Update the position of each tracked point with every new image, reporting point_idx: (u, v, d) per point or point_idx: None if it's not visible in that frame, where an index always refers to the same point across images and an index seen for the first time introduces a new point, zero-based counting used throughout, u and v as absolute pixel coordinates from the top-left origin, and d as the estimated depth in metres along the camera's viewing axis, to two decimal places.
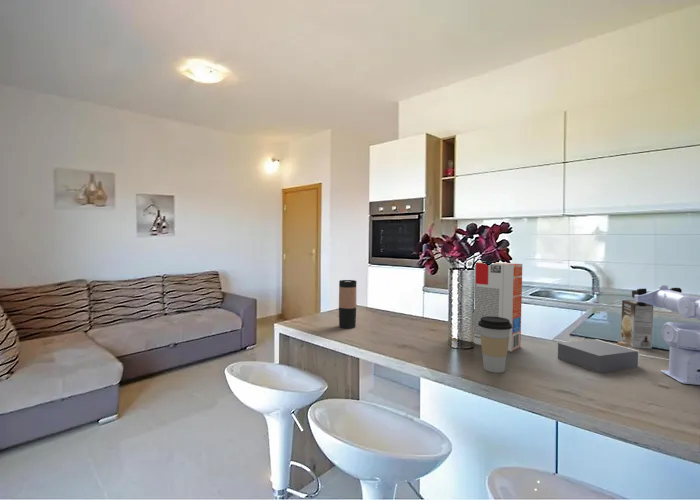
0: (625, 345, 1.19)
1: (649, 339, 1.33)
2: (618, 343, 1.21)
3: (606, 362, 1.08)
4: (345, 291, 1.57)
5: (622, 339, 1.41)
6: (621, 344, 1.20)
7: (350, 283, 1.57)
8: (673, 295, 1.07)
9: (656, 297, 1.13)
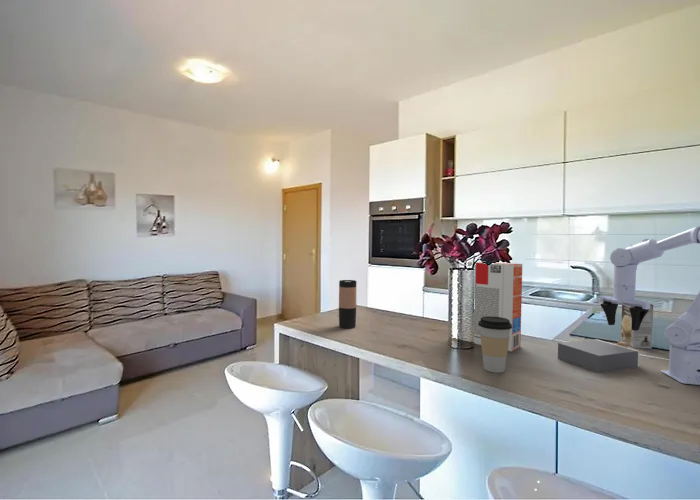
0: (625, 345, 1.19)
1: (649, 339, 1.33)
2: (618, 343, 1.21)
3: (606, 362, 1.08)
4: (345, 291, 1.57)
5: (622, 339, 1.41)
6: (621, 344, 1.20)
7: (350, 283, 1.57)
8: (614, 276, 1.21)
9: (631, 297, 1.17)
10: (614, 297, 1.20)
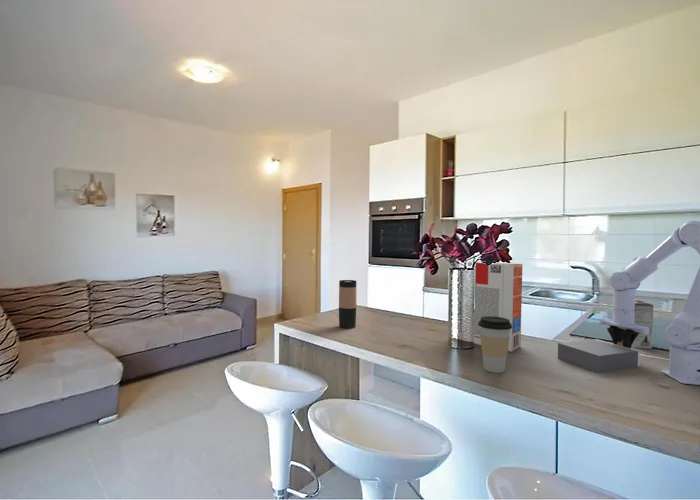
0: None
1: (649, 339, 1.33)
2: (618, 343, 1.21)
3: (606, 362, 1.08)
4: (345, 291, 1.57)
5: None
6: (621, 344, 1.20)
7: (350, 283, 1.57)
8: (613, 300, 1.21)
9: (630, 321, 1.17)
10: (613, 321, 1.21)
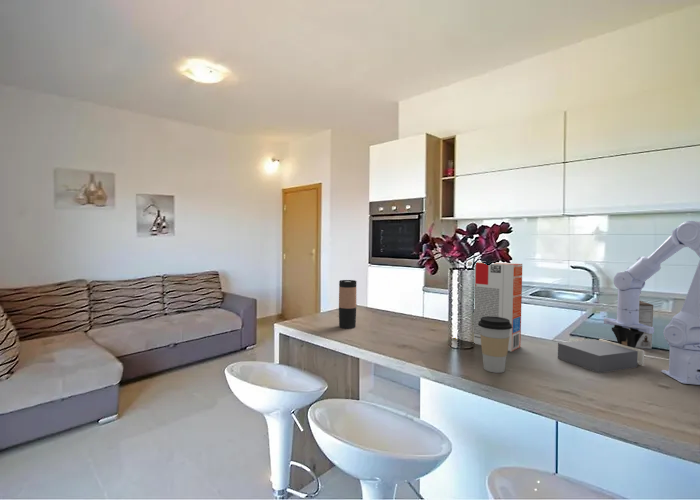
0: None
1: (649, 339, 1.33)
2: (622, 343, 1.21)
3: (606, 362, 1.08)
4: (345, 291, 1.57)
5: None
6: (625, 344, 1.20)
7: (350, 283, 1.57)
8: None
9: (635, 320, 1.18)
10: (618, 320, 1.21)
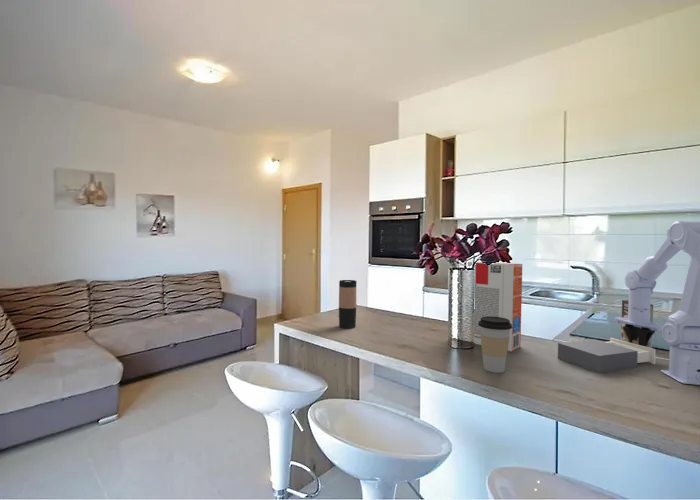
0: None
1: (649, 339, 1.33)
2: (633, 341, 1.23)
3: (606, 362, 1.08)
4: (345, 291, 1.57)
5: (622, 339, 1.41)
6: (636, 342, 1.22)
7: (350, 283, 1.57)
8: None
9: (646, 319, 1.20)
10: (629, 319, 1.23)
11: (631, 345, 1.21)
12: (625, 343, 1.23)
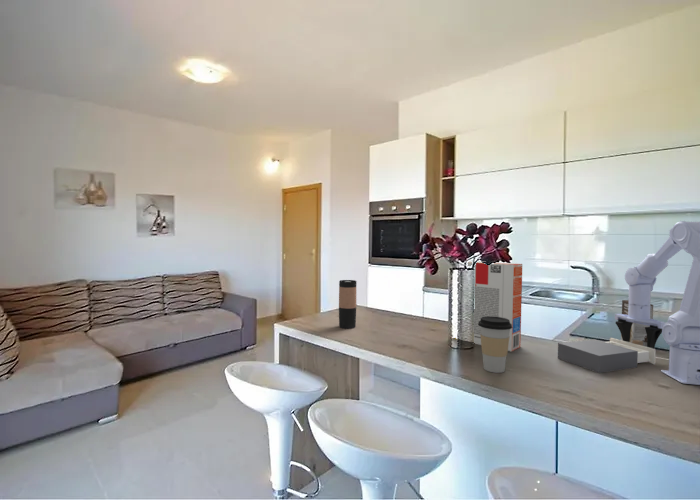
0: (640, 343, 1.22)
1: None
2: (633, 341, 1.23)
3: (606, 362, 1.08)
4: (345, 291, 1.57)
5: (622, 339, 1.41)
6: (636, 342, 1.22)
7: (350, 283, 1.57)
8: None
9: (646, 316, 1.20)
10: (629, 316, 1.23)
11: (631, 345, 1.21)
12: (625, 343, 1.23)
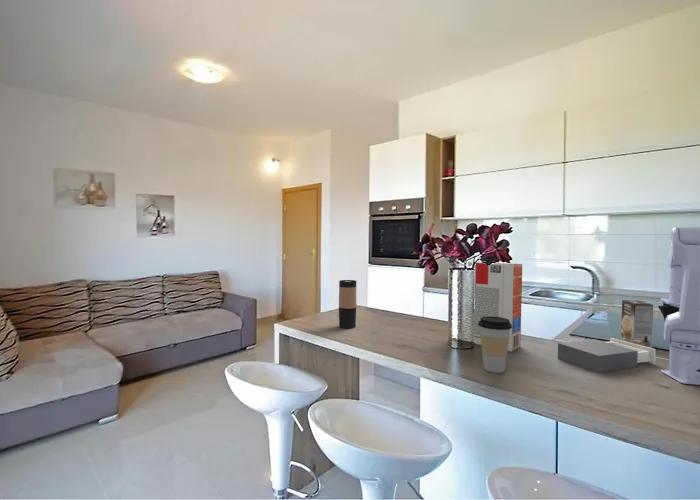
0: (640, 343, 1.22)
1: (649, 339, 1.33)
2: (633, 341, 1.23)
3: (606, 362, 1.08)
4: (345, 291, 1.57)
5: (622, 339, 1.41)
6: (636, 342, 1.22)
7: (350, 283, 1.57)
8: None
9: None
10: (669, 299, 1.17)
11: (631, 345, 1.21)
12: (625, 343, 1.23)
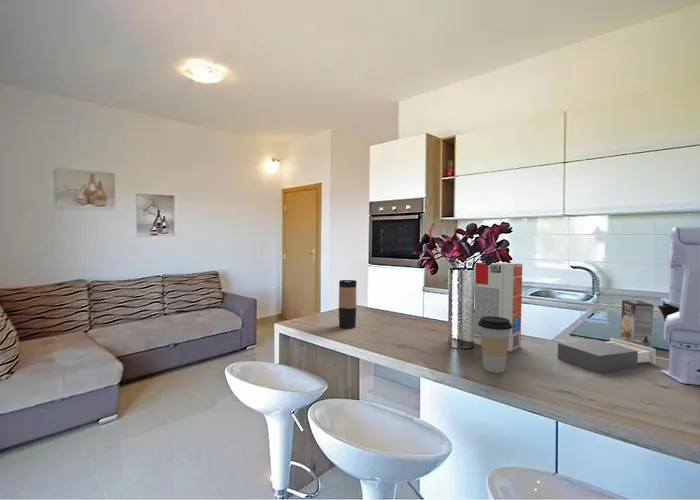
0: (640, 343, 1.22)
1: (649, 339, 1.33)
2: (633, 341, 1.23)
3: (606, 362, 1.08)
4: (345, 291, 1.57)
5: (622, 339, 1.41)
6: (636, 342, 1.22)
7: (350, 283, 1.57)
8: None
9: None
10: (669, 299, 1.17)
11: (631, 345, 1.21)
12: (625, 343, 1.23)
